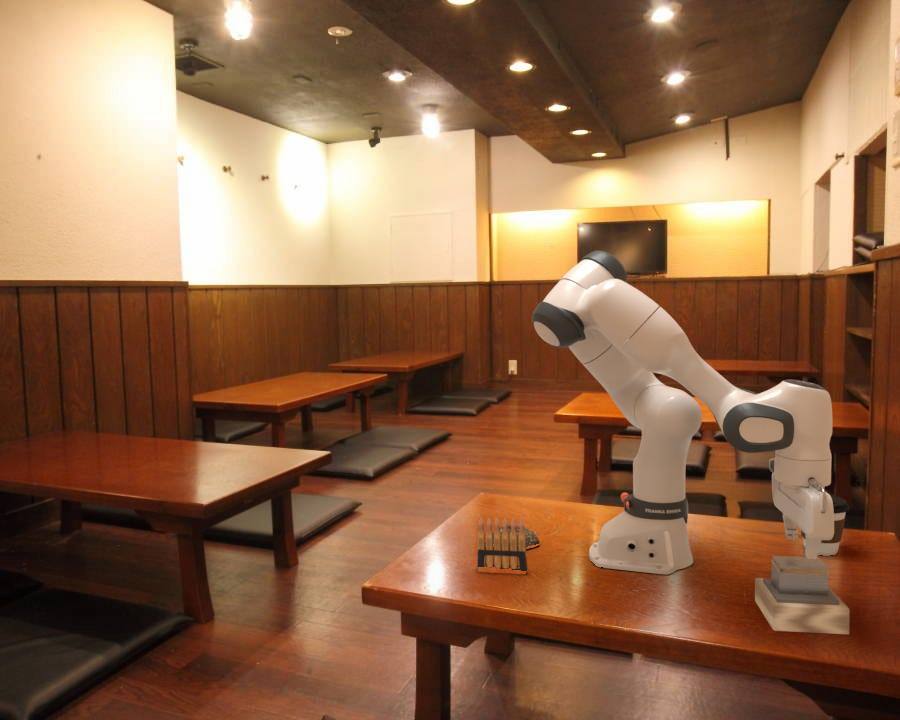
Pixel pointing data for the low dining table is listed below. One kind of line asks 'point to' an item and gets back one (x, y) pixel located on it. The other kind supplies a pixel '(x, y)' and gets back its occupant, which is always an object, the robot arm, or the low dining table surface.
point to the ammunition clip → (504, 555)
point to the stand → (801, 610)
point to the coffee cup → (839, 519)
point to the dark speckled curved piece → (530, 536)
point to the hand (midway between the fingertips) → (800, 547)
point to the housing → (799, 575)
